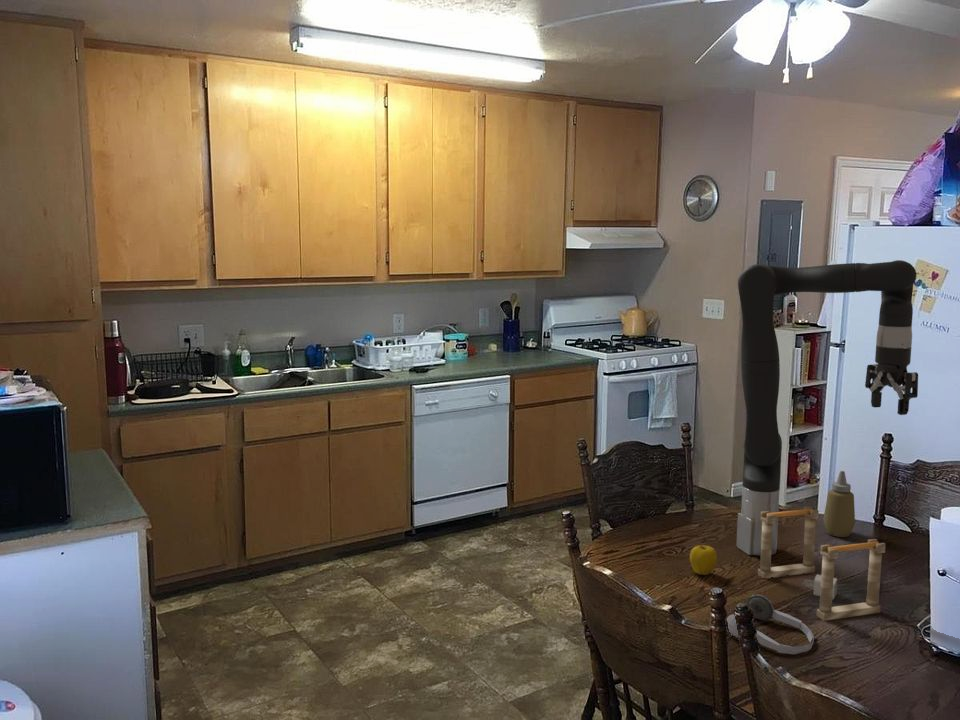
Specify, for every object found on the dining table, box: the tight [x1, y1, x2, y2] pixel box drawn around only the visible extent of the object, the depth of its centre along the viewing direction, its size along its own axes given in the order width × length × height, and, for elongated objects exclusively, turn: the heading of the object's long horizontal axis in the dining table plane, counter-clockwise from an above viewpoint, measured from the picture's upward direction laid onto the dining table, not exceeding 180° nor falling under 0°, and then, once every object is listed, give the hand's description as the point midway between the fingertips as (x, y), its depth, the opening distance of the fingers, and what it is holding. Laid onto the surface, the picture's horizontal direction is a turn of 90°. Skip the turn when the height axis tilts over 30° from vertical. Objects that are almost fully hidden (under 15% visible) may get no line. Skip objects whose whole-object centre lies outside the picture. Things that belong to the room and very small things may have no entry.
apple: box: [689, 544, 718, 576], centre depth 193 cm, size 6×6×8 cm
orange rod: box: [827, 541, 879, 553], centre depth 170 cm, size 13×1×1 cm, turn 104°
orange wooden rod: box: [766, 508, 814, 518], centre depth 191 cm, size 13×1×1 cm, turn 104°
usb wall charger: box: [802, 573, 838, 600], centre depth 182 cm, size 4×7×4 cm, turn 57°
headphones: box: [726, 587, 815, 655], centre depth 165 cm, size 17×6×20 cm
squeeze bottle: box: [822, 470, 856, 538], centre depth 217 cm, size 8×8×18 cm
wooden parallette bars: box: [757, 506, 886, 621], centre depth 182 cm, size 14×25×16 cm, turn 14°
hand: (888, 410), depth 190 cm, fingers open, 8 cm apart
